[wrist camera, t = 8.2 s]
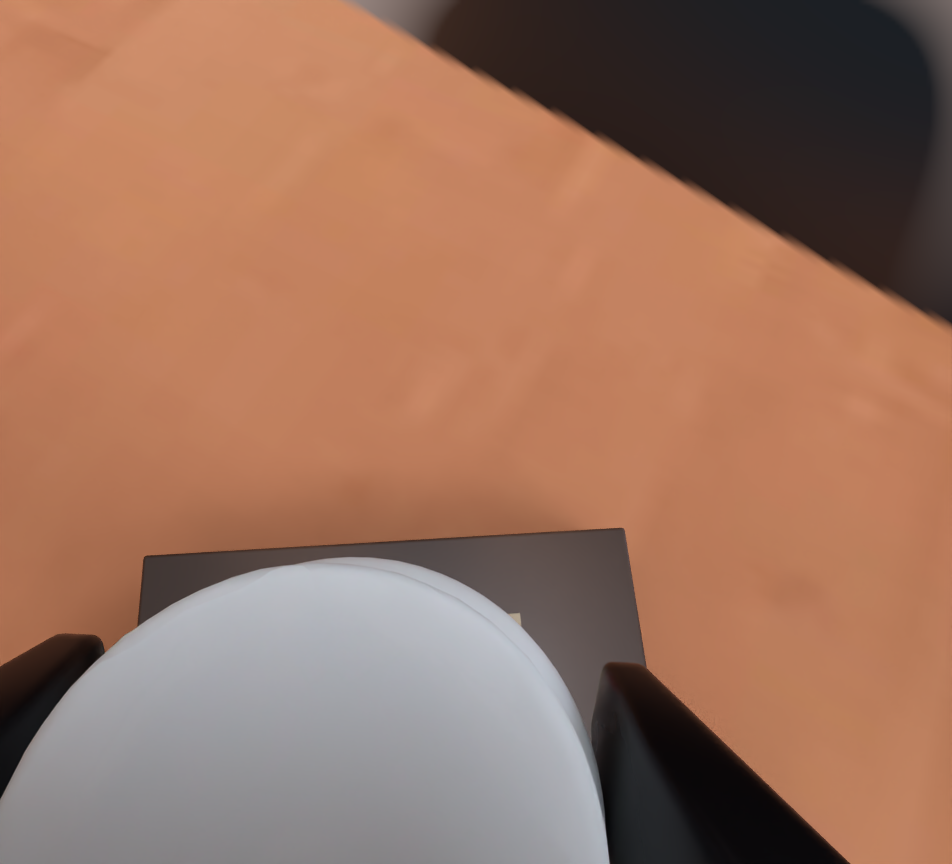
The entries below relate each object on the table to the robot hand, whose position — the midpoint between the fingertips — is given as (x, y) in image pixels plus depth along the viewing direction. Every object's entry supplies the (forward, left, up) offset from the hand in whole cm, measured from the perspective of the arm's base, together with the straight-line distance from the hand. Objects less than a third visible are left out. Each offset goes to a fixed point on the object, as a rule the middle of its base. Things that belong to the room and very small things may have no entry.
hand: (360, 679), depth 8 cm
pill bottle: (-1, -1, -7) cm, 7 cm away
